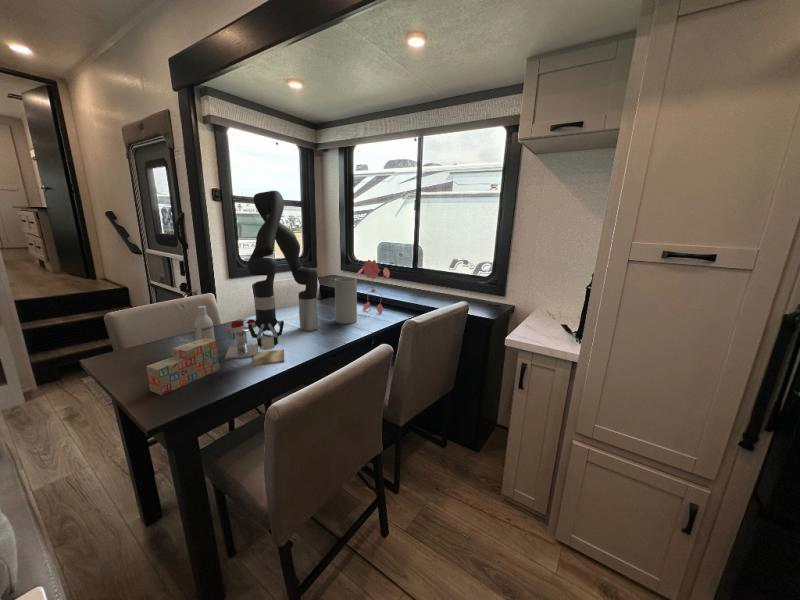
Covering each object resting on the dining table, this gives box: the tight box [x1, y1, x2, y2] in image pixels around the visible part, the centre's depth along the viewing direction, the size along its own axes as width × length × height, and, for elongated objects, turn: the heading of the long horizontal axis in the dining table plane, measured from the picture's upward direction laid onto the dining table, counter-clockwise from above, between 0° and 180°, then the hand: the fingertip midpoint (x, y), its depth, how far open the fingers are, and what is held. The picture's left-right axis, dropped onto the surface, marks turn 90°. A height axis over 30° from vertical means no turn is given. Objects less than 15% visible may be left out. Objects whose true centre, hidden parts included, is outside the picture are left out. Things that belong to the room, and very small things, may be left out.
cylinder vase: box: [334, 277, 358, 325], centre depth 184 cm, size 12×12×25 cm
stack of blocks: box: [146, 338, 221, 396], centre depth 112 cm, size 21×6×12 cm, turn 157°
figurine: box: [355, 259, 391, 318], centre depth 199 cm, size 15×26×35 cm, turn 61°
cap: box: [259, 333, 276, 351], centre depth 132 cm, size 5×7×6 cm
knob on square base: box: [224, 326, 260, 361], centre depth 136 cm, size 12×12×11 cm
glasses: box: [230, 318, 265, 340], centre depth 163 cm, size 14×16×5 cm
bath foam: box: [193, 305, 216, 341], centre depth 137 cm, size 7×7×20 cm
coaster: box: [251, 348, 285, 366], centre depth 133 cm, size 12×12×1 cm
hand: (267, 345), depth 132 cm, fingers closed on cap, 5 cm apart
